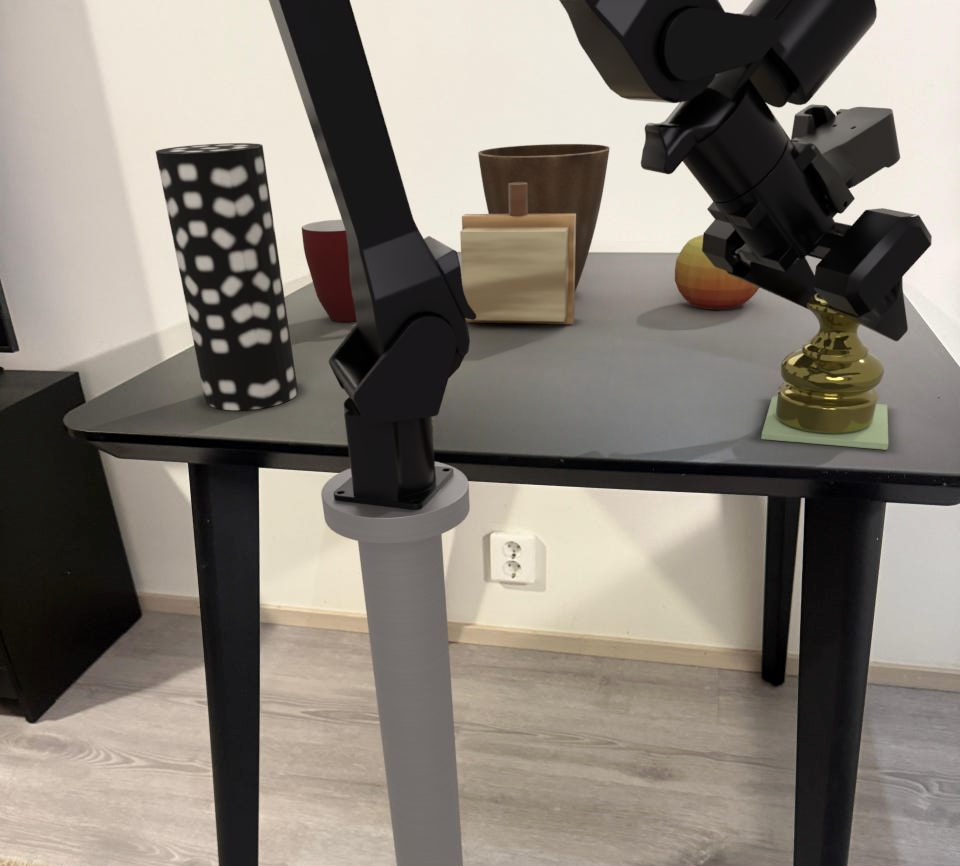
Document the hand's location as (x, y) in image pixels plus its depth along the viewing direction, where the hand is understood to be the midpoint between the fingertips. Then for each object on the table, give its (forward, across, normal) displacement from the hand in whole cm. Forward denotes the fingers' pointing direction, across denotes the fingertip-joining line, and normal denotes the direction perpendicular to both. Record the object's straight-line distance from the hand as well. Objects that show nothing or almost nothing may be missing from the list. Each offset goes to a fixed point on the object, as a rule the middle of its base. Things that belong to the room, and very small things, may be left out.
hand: (859, 320), depth 69 cm
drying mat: (+4, 0, +6) cm, 8 cm away
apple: (+13, +38, -2) cm, 40 cm away
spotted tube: (-25, +27, +36) cm, 52 cm away
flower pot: (+2, +52, +9) cm, 52 cm away
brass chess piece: (+4, 0, +7) cm, 8 cm away
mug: (-14, +51, +26) cm, 59 cm away
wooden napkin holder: (-4, +40, +14) cm, 42 cm away
